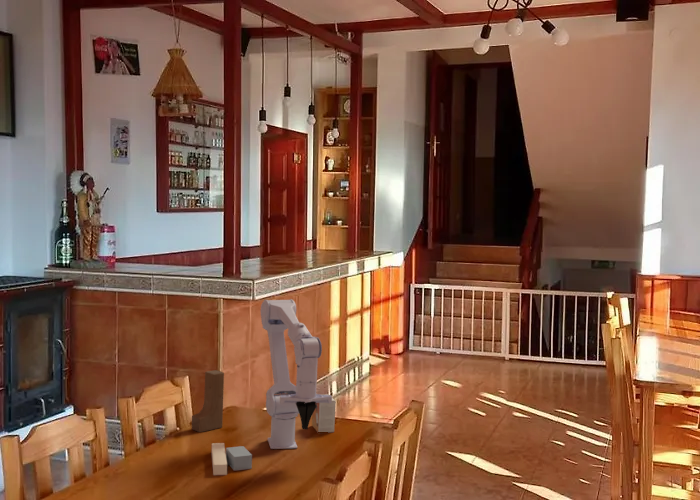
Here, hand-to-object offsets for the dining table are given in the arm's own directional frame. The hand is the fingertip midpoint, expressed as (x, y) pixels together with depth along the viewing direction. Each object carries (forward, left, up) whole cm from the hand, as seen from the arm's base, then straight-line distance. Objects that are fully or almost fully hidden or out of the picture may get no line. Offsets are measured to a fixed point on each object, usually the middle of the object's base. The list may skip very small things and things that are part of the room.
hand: (304, 428), depth 214 cm
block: (0, -18, -10) cm, 21 cm away
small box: (-31, +11, -10) cm, 34 cm away
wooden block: (-34, -26, -10) cm, 44 cm away
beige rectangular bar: (-2, -24, -10) cm, 26 cm away
